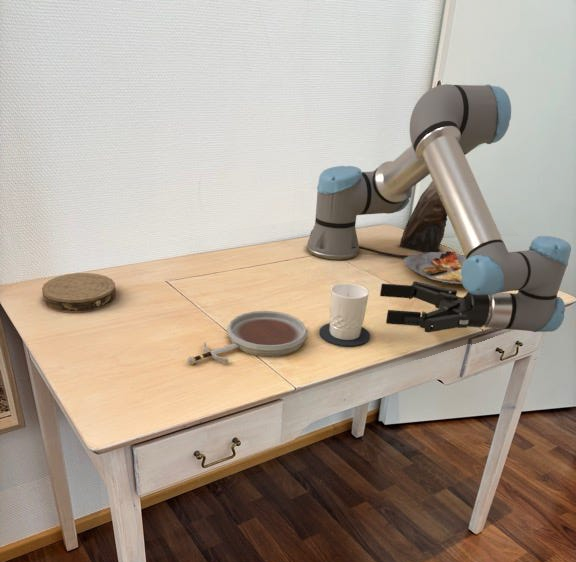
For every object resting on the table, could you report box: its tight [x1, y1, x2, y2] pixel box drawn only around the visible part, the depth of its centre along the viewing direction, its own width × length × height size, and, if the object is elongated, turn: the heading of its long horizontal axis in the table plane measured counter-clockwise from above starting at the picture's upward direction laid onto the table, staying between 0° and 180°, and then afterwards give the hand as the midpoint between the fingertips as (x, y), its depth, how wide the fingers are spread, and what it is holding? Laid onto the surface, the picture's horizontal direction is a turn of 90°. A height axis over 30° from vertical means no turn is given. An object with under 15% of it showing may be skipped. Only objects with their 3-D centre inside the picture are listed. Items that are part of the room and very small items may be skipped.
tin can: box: [41, 272, 117, 314], centre depth 134 cm, size 16×16×3 cm
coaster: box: [319, 322, 371, 348], centre depth 126 cm, size 11×11×1 cm
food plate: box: [403, 250, 466, 285], centre depth 160 cm, size 25×23×4 cm
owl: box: [399, 180, 448, 253], centre depth 174 cm, size 13×13×20 cm
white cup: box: [329, 282, 370, 340], centre depth 123 cm, size 8×8×10 cm
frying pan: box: [187, 310, 308, 365], centre depth 119 cm, size 17×3×28 cm
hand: (383, 302), depth 122 cm, fingers open, 13 cm apart
